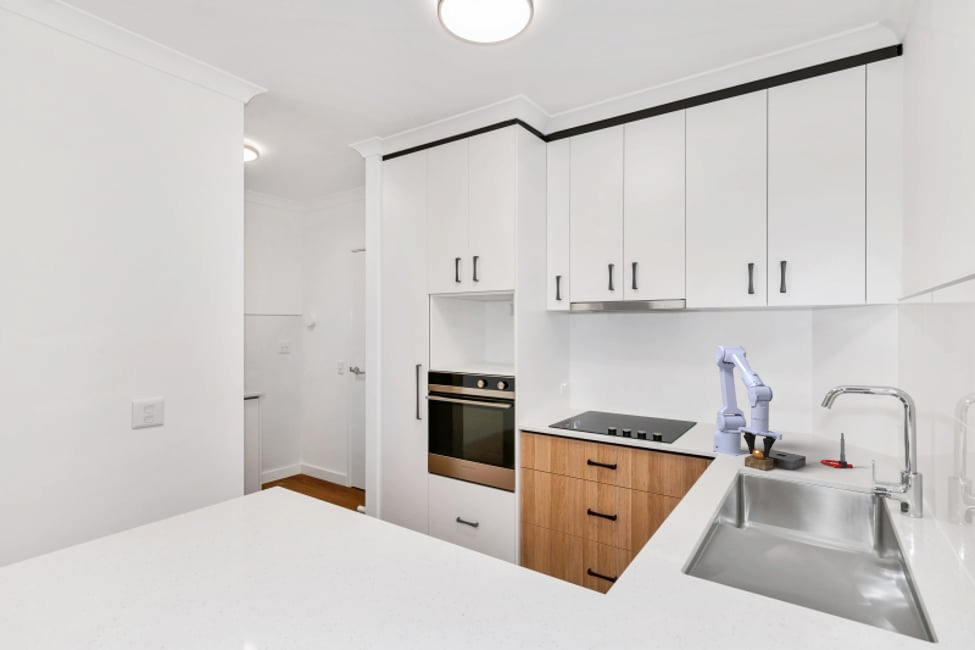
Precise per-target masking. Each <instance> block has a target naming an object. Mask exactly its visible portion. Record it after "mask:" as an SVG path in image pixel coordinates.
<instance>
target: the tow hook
mask: <svg viewBox="0 0 975 650" xmlns="http://www.w3.org/2000/svg"><path fill="white" fill-rule="evenodd" d="M844 435H845V433H844V432H841V433H840V454H839V460H834V459H821V460H820V463H821V464H822V465H825V466H831V467H833V468H834V469H853V468H854V465H853V464H852V463H848V461H847V460H846V453H845V450H846V449H845V444H846V443H845V436H844ZM831 462H832V463H831Z"/></svg>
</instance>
